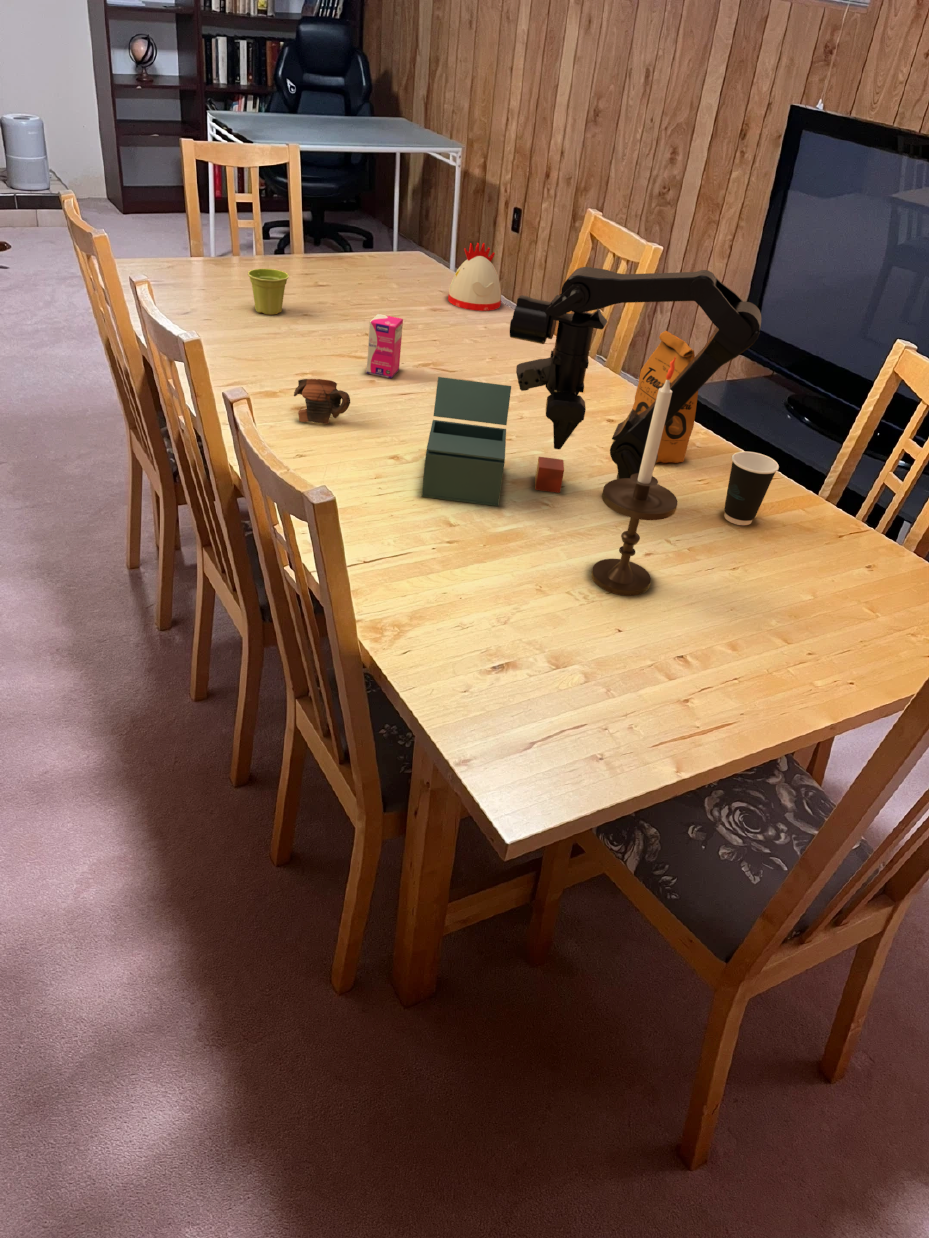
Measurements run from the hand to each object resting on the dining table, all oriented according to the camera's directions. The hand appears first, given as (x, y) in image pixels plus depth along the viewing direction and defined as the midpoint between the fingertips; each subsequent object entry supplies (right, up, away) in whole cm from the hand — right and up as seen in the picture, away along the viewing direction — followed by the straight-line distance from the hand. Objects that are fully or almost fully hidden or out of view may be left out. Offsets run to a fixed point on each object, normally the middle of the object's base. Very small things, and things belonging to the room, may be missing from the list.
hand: (556, 437), depth 168 cm
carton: (-16, -7, +2) cm, 18 cm away
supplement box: (-33, +21, +41) cm, 57 cm away
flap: (-15, +7, +3) cm, 16 cm away
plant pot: (-63, +42, +65) cm, 100 cm away
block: (-1, -8, +5) cm, 9 cm away
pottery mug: (-43, +7, +19) cm, 48 cm away
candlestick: (+8, -25, -19) cm, 32 cm away
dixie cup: (+32, -14, +3) cm, 35 cm away
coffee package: (+21, +1, +22) cm, 31 cm away
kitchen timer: (-13, +52, +89) cm, 104 cm away
